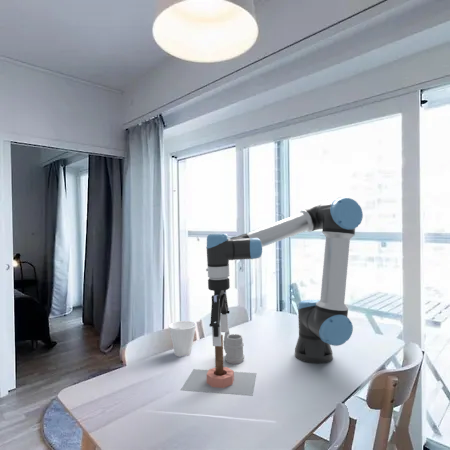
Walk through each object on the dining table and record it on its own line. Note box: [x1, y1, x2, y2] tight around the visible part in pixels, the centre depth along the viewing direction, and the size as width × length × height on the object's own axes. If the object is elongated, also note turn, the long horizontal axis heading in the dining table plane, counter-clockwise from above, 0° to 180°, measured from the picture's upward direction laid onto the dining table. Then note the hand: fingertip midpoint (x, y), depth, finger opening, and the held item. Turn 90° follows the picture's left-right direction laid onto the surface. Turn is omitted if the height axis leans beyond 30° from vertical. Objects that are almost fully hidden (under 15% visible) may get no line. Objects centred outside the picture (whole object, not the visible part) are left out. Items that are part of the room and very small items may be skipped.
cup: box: [168, 320, 197, 358], centre depth 140 cm, size 12×12×12 cm
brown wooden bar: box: [214, 334, 224, 376], centre depth 113 cm, size 3×3×16 cm
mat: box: [180, 368, 257, 397], centre depth 113 cm, size 24×16×1 cm, turn 80°
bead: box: [207, 366, 235, 388], centre depth 113 cm, size 9×9×3 cm
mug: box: [223, 328, 245, 365], centre depth 133 cm, size 8×12×12 cm, turn 31°
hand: (221, 338), depth 114 cm, fingers open, 13 cm apart
